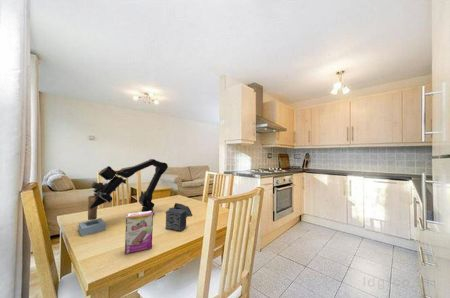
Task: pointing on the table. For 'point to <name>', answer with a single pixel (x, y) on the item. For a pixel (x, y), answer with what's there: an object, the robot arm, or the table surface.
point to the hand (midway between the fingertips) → (89, 207)
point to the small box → (176, 219)
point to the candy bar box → (138, 231)
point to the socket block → (91, 226)
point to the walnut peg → (92, 212)
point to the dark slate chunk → (182, 208)
